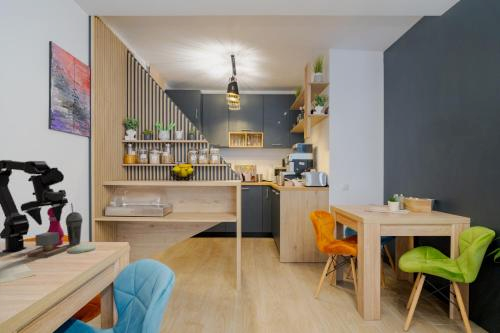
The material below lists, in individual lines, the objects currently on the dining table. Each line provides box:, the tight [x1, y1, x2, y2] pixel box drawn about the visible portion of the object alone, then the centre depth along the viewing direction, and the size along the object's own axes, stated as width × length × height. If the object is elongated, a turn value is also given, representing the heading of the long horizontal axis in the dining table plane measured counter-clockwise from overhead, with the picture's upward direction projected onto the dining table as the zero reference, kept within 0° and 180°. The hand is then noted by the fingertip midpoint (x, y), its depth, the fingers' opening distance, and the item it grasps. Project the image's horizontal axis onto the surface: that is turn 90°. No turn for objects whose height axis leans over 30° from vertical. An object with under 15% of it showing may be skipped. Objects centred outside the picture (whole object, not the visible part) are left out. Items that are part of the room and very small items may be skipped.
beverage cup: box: [65, 203, 83, 246], centre depth 143 cm, size 7×7×20 cm
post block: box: [27, 245, 68, 258], centre depth 128 cm, size 10×10×8 cm
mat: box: [67, 244, 97, 254], centre depth 133 cm, size 11×11×1 cm
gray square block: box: [35, 231, 59, 247], centre depth 128 cm, size 6×6×4 cm
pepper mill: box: [46, 206, 65, 247], centre depth 143 cm, size 7×7×20 cm
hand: (50, 223), depth 128 cm, fingers open, 9 cm apart
